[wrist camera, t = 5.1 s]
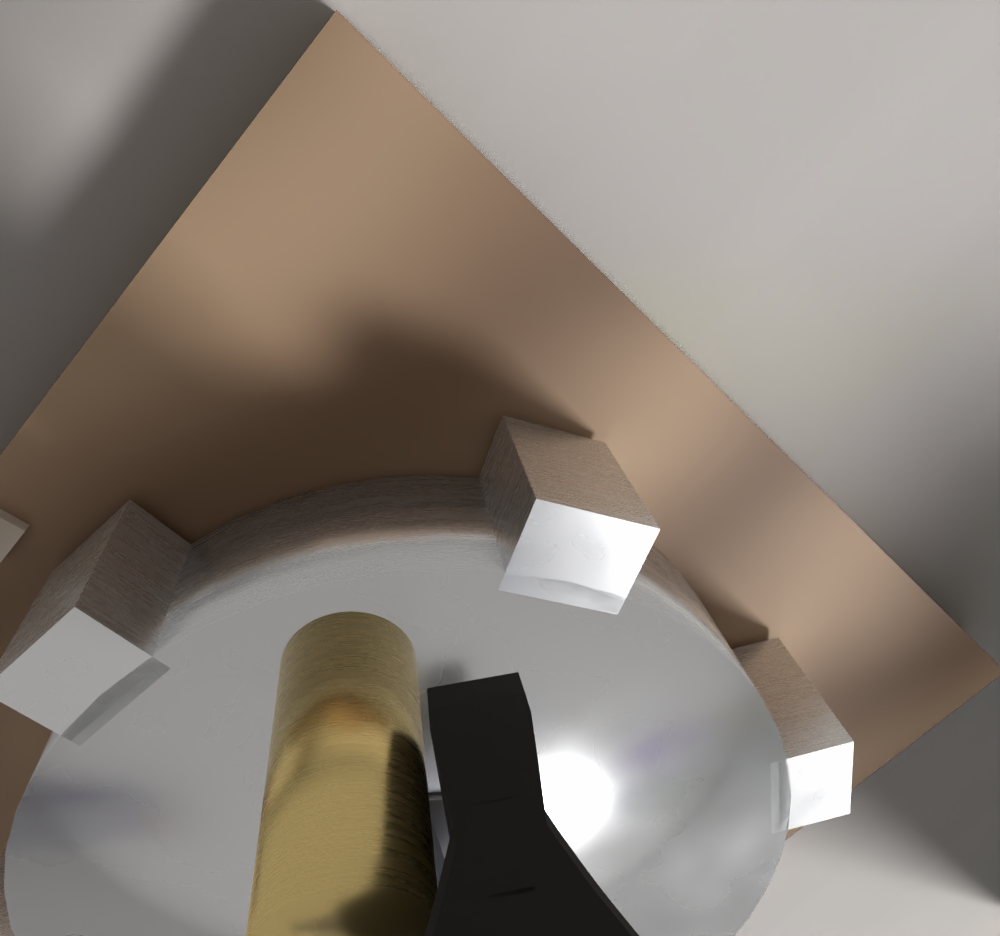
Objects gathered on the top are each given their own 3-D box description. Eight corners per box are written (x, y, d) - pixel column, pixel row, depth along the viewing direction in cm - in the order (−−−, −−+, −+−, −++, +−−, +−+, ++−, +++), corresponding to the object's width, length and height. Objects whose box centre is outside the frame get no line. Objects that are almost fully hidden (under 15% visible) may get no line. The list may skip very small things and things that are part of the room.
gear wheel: (780, 883, 21) (965, 1244, 15) (168, 1046, 20) (80, 1506, 14) (775, 352, 14) (1129, 603, 8) (-171, 567, 13) (-679, 1061, 7)
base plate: (963, 632, 21) (1011, 677, 19) (448, 1041, 25) (453, 1103, 24) (338, 14, 12) (335, 9, 11) (-253, 795, 17) (-312, 866, 16)
